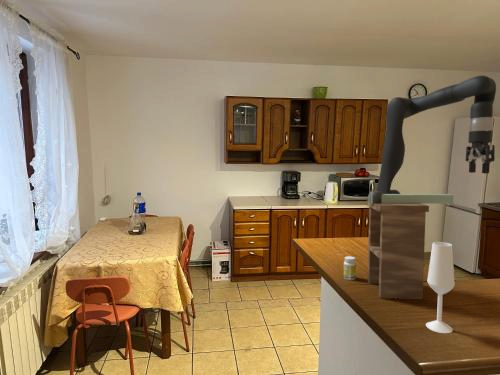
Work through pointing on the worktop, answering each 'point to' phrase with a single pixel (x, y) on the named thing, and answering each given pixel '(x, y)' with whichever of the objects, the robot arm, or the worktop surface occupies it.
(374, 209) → the walnut shelf
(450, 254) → the champagne flute
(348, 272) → the supplement bottle
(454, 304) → the worktop surface
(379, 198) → the capped bar
